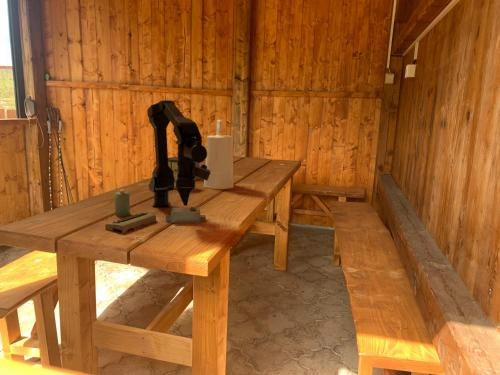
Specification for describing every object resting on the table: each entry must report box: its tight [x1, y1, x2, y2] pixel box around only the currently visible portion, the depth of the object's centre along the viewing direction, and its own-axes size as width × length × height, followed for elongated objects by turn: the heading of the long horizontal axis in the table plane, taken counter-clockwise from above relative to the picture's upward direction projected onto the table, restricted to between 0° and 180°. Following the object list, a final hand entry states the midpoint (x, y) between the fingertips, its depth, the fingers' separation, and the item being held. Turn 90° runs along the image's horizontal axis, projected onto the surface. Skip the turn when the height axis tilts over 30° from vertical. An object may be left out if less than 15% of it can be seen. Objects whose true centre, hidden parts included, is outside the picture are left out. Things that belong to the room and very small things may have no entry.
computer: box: [104, 212, 157, 234], centre depth 130 cm, size 16×8×3 cm, turn 152°
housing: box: [165, 206, 206, 224], centre depth 138 cm, size 14×6×5 cm, turn 98°
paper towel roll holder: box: [203, 119, 235, 190], centre depth 195 cm, size 15×15×33 cm
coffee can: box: [168, 156, 178, 189], centre depth 192 cm, size 10×10×14 cm
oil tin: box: [114, 189, 131, 217], centre depth 141 cm, size 5×5×9 cm
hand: (185, 202), depth 137 cm, fingers open, 9 cm apart
